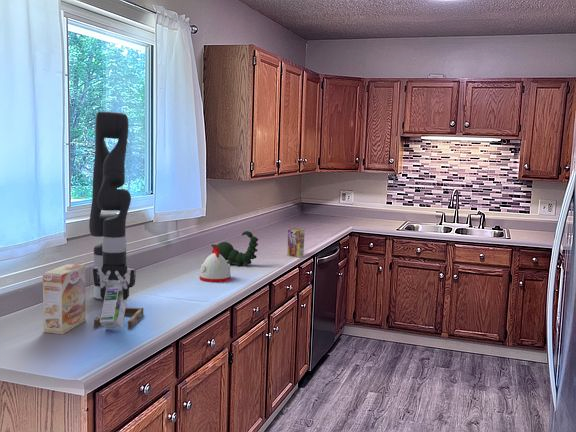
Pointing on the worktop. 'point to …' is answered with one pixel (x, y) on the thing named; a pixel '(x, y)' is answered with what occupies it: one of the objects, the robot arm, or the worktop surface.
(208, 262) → the kitchen timer
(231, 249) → the toy figurine
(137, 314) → the walnut U-rest
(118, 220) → the robot arm
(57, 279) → the coffeecake box
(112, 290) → the syrup box
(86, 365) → the worktop surface
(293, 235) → the candy box
